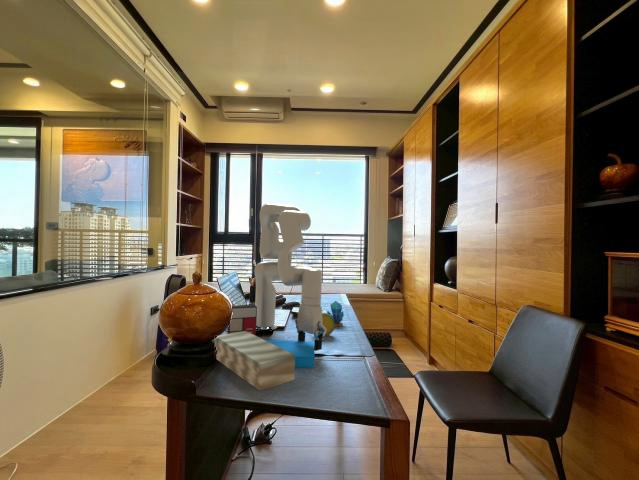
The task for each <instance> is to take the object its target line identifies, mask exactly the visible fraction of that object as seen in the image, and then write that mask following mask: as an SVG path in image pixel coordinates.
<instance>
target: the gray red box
mask: <svg viewBox="0 0 639 480" xmlns="http://www.w3.org/2000/svg"><path fill="white" fill-rule="evenodd" d="M231 306H232V309H233V315H232V319H231V323H230V325H229V327H228V326H227V329H226V332H227V333H226V334H231V333H237V332H242V331H247V332H249V333H251V334H253V335H255V336H257V330H256V320H257V306H255V304H241V305H231Z"/></svg>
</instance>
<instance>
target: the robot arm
mask: <svg viewBox="0 0 639 480" xmlns="http://www.w3.org/2000/svg"><path fill="white" fill-rule="evenodd" d="M259 222H260V227H261V228H260V240H259V254H260V257H261V258H263V259H267V261H261V262H258V263H257V264H255V266H254V270H253V271H254V279H255V299H254V300H255V304H254V305H255V306H257V320H256V326H258V327H271V329H272V330H276V329H277V328H278V327H277V325H274V324H275V323H276V322H275V320H276V319H275V317H276V299H277V298H276V296H277V295H276V294H277V293H276V291H277V290H276V288H275V286H274V284H273V283H272V282H279V281H281V283H282V284H283V285H284V286H286V287H292V286H293V287H294V286H295V287H296V286H297V287H298V286H301V294H300V295H301V297H300V298H301V299H300V304H299V306H298V311H297V319H295V320H294V323H295V328H296V332H297V341H306V333H307V334H310V335H314V337H315V339H314V341H313V342H314V352H316V351H321V350H322V347H323V340H324V337H326V336H325V334H326V332H327V329H326V328H325V327H324V326H323V324H322V313H323V309H322V305H321V303H322V284H323V283H322V281H323V279H322V278H323V273H322V270H321V269H319V268H314V267H311V266H308V265H307V266H303V265H301V266H292V260H293V251H297V250H298V249H300V248H302V247H303V245H304V244H305V241H304V237H303V234H302V233H303V232H302V231H304V232H305V231H308V230H309V229H310V227H311V225H312V221H311V217H310V215H309V214H308V212H307V211H305V210H303V209H301V208H300V207H299V206H296V205H291V204H282V203H274V202H273V203H271V202H268V203H264V204H263V205H262V206H261V208H260V211H259ZM277 223H278V225H277ZM278 226H279V227H278ZM280 233H281V239H280V238H279V237H280ZM269 260H270V261H269ZM271 260H273V261H271ZM274 260H277V261H274ZM272 330H271V331H272ZM317 333H318V334H319V335H317Z"/></svg>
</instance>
